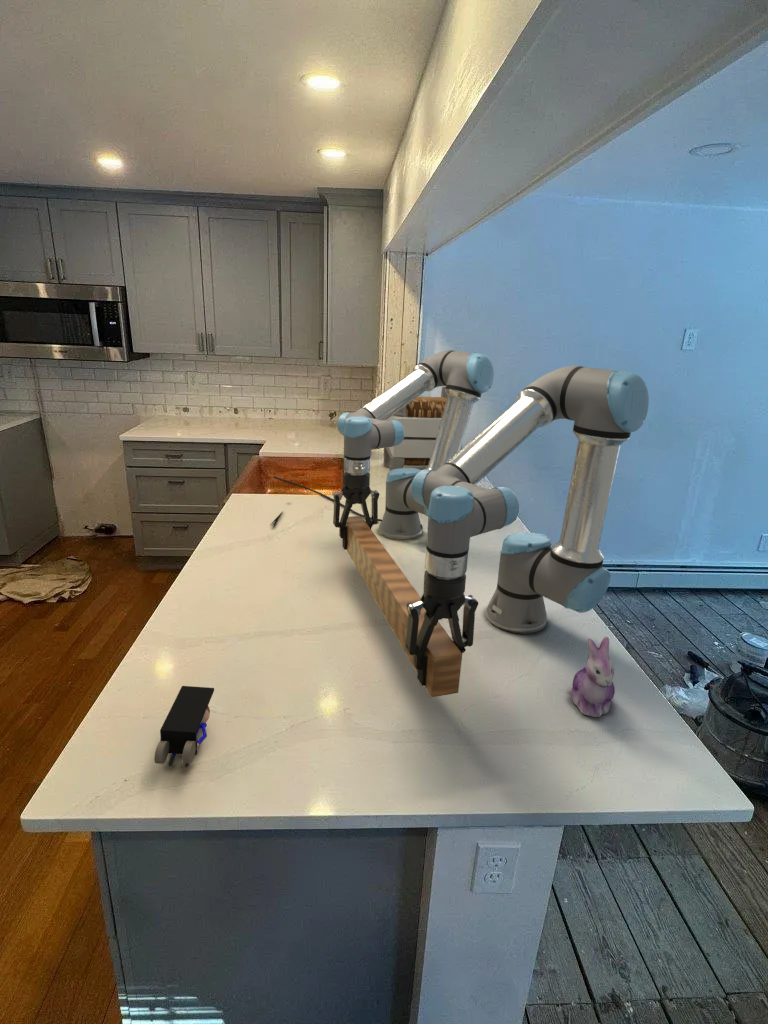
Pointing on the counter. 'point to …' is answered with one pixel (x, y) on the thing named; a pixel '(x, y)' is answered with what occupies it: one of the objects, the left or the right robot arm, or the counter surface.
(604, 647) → the figurine
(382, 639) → the counter surface
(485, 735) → the counter surface
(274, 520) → the feather
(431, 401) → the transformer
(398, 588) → the post
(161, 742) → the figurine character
